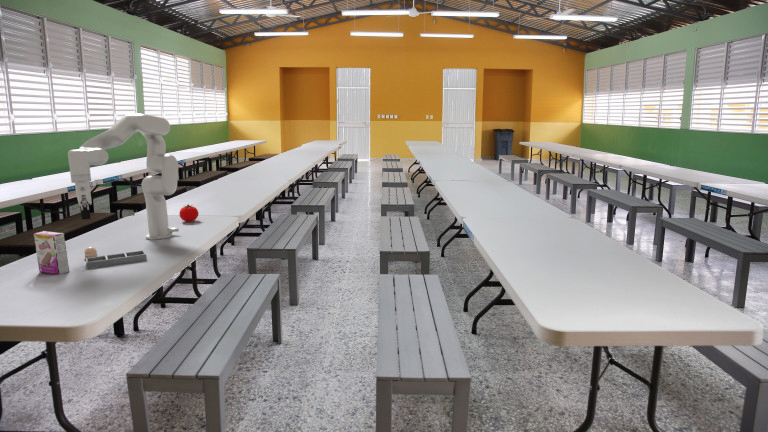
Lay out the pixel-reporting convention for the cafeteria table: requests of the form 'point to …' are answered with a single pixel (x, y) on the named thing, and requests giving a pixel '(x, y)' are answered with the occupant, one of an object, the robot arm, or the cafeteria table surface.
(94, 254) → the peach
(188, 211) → the tomato
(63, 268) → the candy bar box
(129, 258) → the tray
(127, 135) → the robot arm
